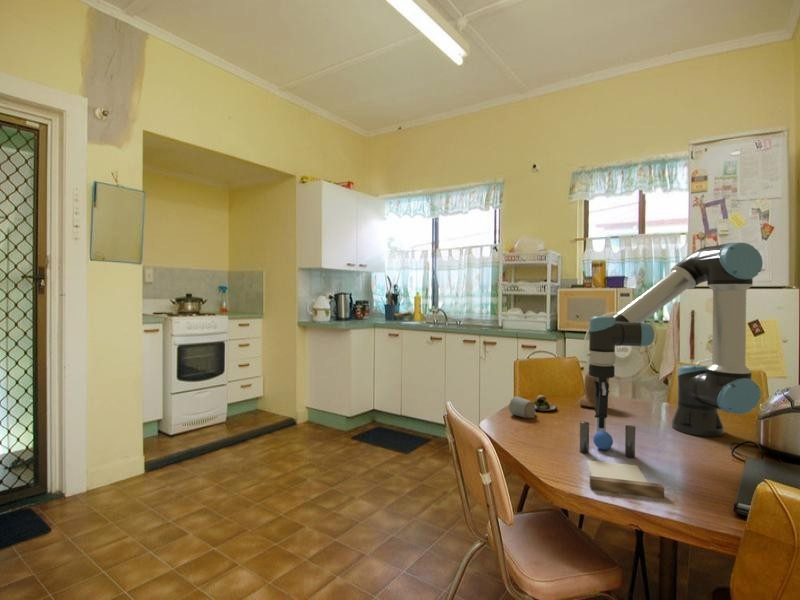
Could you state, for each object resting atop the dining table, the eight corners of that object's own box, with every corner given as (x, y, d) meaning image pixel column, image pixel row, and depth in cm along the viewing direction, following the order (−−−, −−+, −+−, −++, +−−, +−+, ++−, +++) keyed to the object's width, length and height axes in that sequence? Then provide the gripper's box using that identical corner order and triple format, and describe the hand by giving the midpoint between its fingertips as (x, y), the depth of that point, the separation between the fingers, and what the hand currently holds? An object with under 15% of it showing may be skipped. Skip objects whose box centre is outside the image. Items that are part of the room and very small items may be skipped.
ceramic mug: (525, 420, 165) (526, 401, 165) (508, 416, 171) (508, 397, 171) (540, 416, 171) (541, 397, 171) (523, 412, 178) (524, 394, 178)
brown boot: (606, 411, 178) (606, 375, 178) (575, 407, 185) (576, 372, 185) (612, 403, 191) (612, 370, 191) (583, 400, 198) (583, 367, 198)
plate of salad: (528, 412, 177) (529, 394, 177) (525, 405, 189) (526, 388, 189) (559, 414, 175) (559, 396, 175) (554, 407, 187) (554, 389, 186)
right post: (633, 455, 129) (634, 425, 129) (636, 458, 127) (636, 428, 127) (624, 454, 130) (624, 424, 130) (626, 457, 127) (626, 427, 127)
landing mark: (637, 466, 121) (637, 465, 121) (649, 485, 109) (649, 484, 109) (586, 460, 125) (586, 460, 125) (593, 479, 112) (593, 478, 112)
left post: (588, 450, 133) (588, 421, 133) (589, 453, 130) (589, 424, 130) (579, 450, 133) (579, 421, 133) (580, 453, 131) (580, 423, 131)
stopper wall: (661, 494, 104) (661, 484, 104) (664, 498, 102) (664, 487, 102) (589, 485, 108) (589, 475, 108) (590, 489, 106) (590, 479, 106)
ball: (615, 441, 130) (612, 455, 132) (613, 429, 135) (610, 442, 137) (595, 437, 132) (592, 451, 134) (594, 425, 136) (591, 439, 139)
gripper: (586, 360, 146) (585, 430, 147) (591, 366, 134) (590, 442, 134) (610, 361, 144) (609, 432, 144) (618, 368, 132) (617, 445, 132)
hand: (600, 437), depth 139 cm, fingers closed
